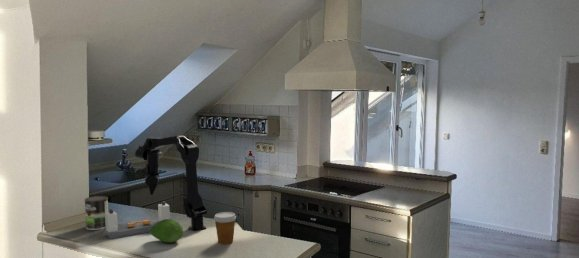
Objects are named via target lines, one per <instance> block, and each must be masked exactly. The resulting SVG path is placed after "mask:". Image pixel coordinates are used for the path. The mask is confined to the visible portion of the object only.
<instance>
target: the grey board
mask: <svg viewBox="0 0 579 258" xmlns="http://www.w3.org/2000/svg"><path fill="white" fill-rule="evenodd" d="M150 222H151V223H150V224H142V223H137V224H135V226H132V227H127V224H126V225H121V226H120V225H119V226H118V231H115V232H108V231H107V230H106V229H105V235H106V237H107V238H108V239H109V240H112V239H118V238H122V237H123V238H124V237H128V236H133V235H134V236H135V235H139V234H145V233H150V231H151V228H152V226H153V225H154V224H156V223H157V222H160V221H159V219H155V220H150Z"/></svg>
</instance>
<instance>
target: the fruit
mask: <svg viewBox="0 0 579 258" xmlns="http://www.w3.org/2000/svg"><path fill="white" fill-rule="evenodd" d="M149 233H150V235H151V236H153V237H154V238H155V239H157V240H159V241H161V242H163V243H168V244H170V243H171V244H173V243H176V242H177V241H179V240H180V239H181V238H182V236H183V234H184V228H183V226H182V224H180V223H179V221H177V220H175V219H171V218H170V219H165V220H162V221H160V222H157V223H156V224H154V225H153V226H152V228H151V231H150V232H149Z"/></svg>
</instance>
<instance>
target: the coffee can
mask: <svg viewBox="0 0 579 258" xmlns="http://www.w3.org/2000/svg"><path fill="white" fill-rule="evenodd" d="M108 199H109V197H108V196H105V195H95V196H94V195H93V196H89V197H86V198H84V205H85V206H84V207H85V208H84V209H85V210H84V211H85V226H86V227H85V229H86V230H88V231H100V230H104V229H106V212H109V203H108Z"/></svg>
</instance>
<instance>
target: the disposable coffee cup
mask: <svg viewBox="0 0 579 258" xmlns="http://www.w3.org/2000/svg"><path fill="white" fill-rule="evenodd" d="M236 219H237V216H236V214H235V213H234V212H231V211H224V212H223V211H222V212H218V213H216V214H215V215H214V217H213V220H214V224H215V229H216V230H215V231H216V234H217V235H216V237H217V242H218V244H220V245H230V244H232V243H234V235H235V234H234V233H235V224H236Z"/></svg>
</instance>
